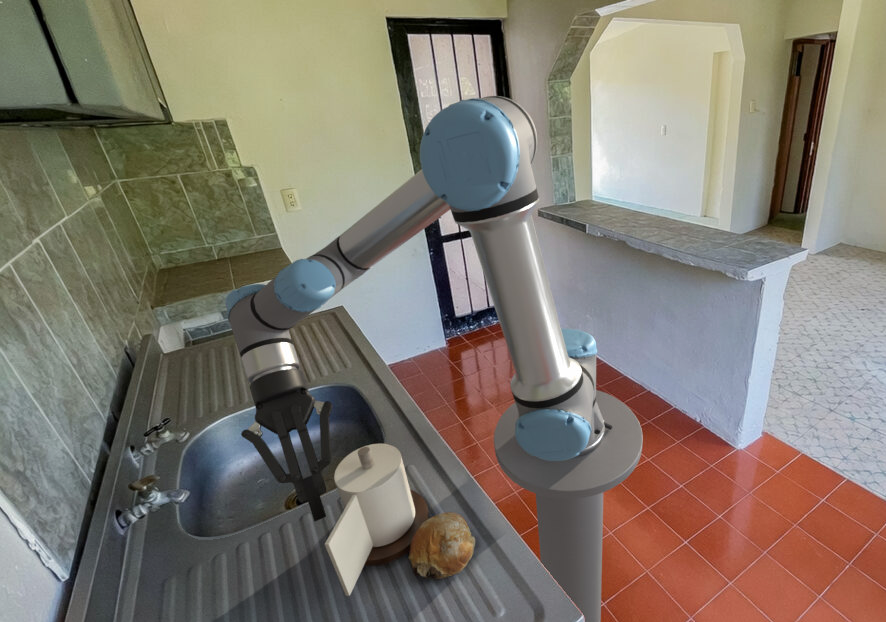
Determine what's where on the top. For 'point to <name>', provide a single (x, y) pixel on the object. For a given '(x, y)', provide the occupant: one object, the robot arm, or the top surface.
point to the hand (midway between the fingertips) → (320, 519)
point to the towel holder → (403, 543)
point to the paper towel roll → (368, 510)
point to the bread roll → (441, 546)
